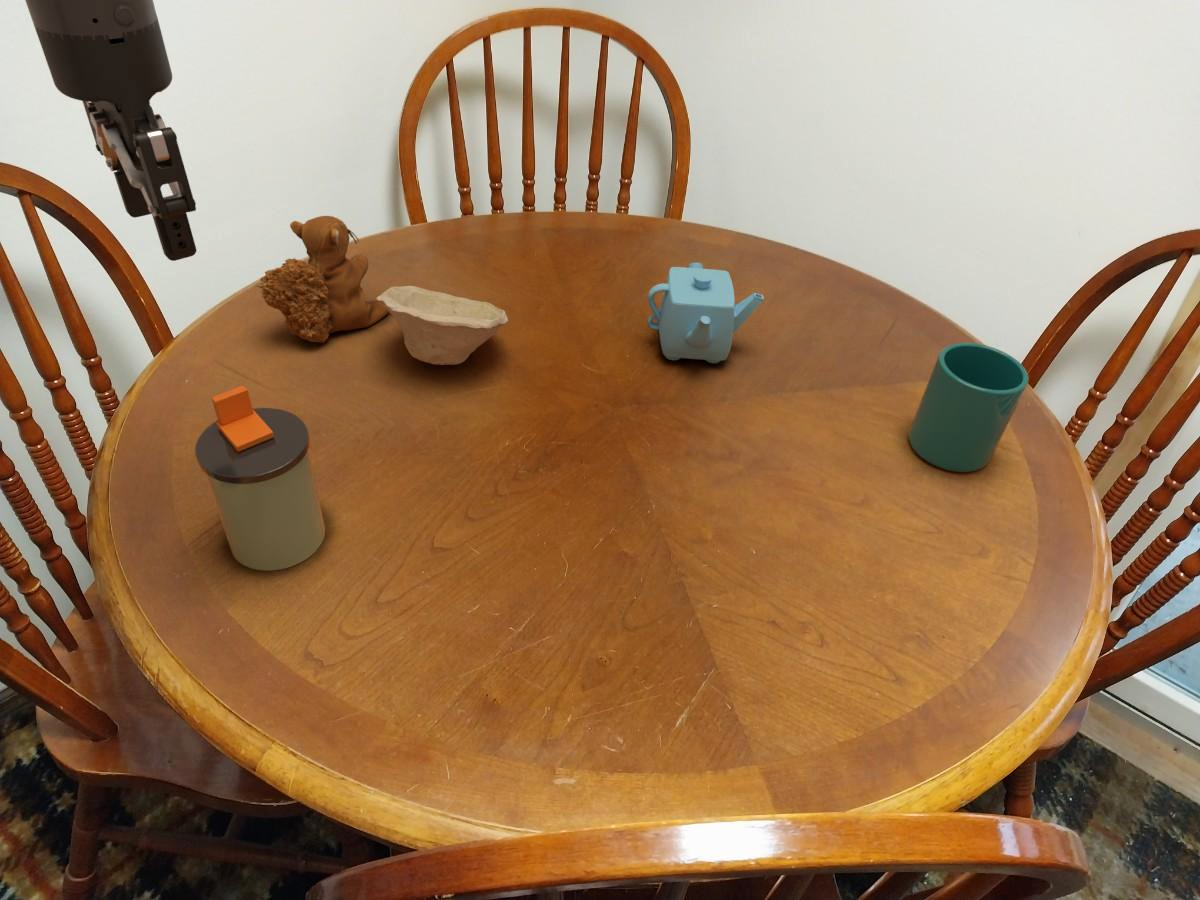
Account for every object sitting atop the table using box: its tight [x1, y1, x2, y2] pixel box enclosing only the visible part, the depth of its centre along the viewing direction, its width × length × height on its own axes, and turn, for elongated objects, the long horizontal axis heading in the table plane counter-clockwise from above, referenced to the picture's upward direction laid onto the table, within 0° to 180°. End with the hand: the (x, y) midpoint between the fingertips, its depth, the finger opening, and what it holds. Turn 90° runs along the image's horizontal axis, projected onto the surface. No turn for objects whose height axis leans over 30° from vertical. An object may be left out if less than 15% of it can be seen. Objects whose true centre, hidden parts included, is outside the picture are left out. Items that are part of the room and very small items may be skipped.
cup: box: [908, 342, 1030, 473], centre depth 93 cm, size 9×12×11 cm
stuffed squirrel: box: [255, 215, 390, 344], centre depth 102 cm, size 10×14×13 cm
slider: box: [211, 385, 274, 452], centre depth 71 cm, size 4×3×3 cm
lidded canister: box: [194, 407, 326, 572], centre depth 75 cm, size 9×9×12 cm
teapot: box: [647, 261, 765, 364], centre depth 104 cm, size 18×14×10 cm
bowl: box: [376, 285, 509, 366], centre depth 99 cm, size 15×14×10 cm
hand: (161, 234), depth 68 cm, fingers open, 8 cm apart
